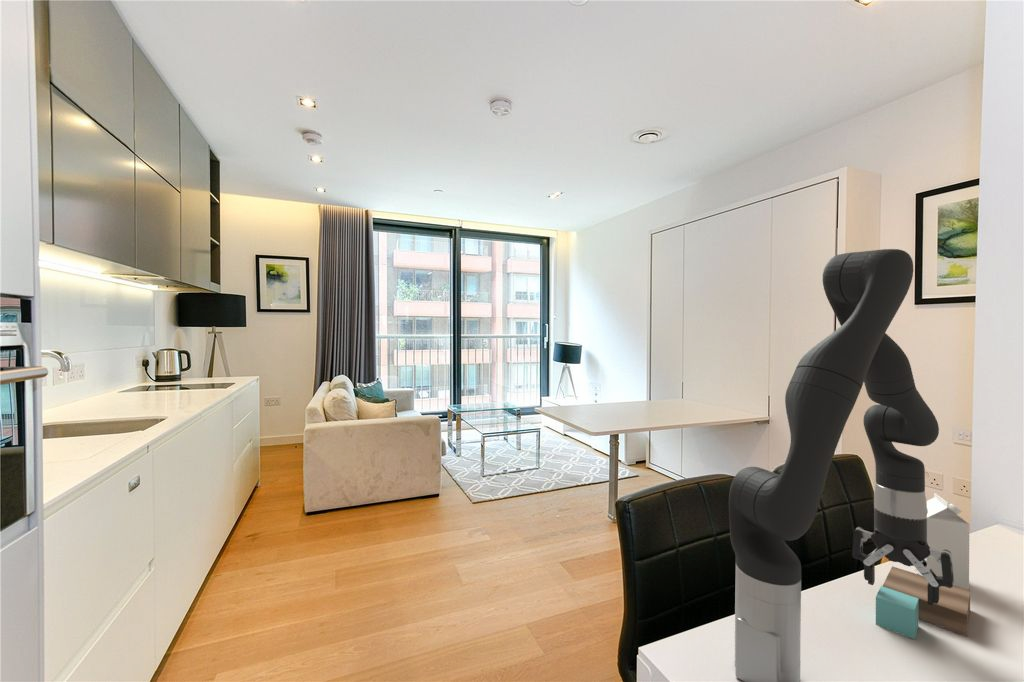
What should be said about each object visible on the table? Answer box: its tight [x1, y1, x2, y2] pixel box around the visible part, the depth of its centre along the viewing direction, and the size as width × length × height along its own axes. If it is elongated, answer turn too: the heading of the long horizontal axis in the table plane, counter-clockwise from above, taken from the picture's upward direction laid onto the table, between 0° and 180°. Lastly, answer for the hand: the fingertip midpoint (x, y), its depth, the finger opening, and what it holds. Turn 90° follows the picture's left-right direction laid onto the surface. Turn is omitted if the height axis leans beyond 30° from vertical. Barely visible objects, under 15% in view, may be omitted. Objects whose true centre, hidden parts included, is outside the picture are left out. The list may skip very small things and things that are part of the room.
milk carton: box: [914, 492, 970, 590], centre depth 97 cm, size 7×7×19 cm
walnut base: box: [882, 566, 971, 637], centre depth 87 cm, size 12×12×4 cm
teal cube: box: [875, 585, 919, 640], centre depth 82 cm, size 6×6×6 cm
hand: (900, 593), depth 81 cm, fingers open, 8 cm apart
